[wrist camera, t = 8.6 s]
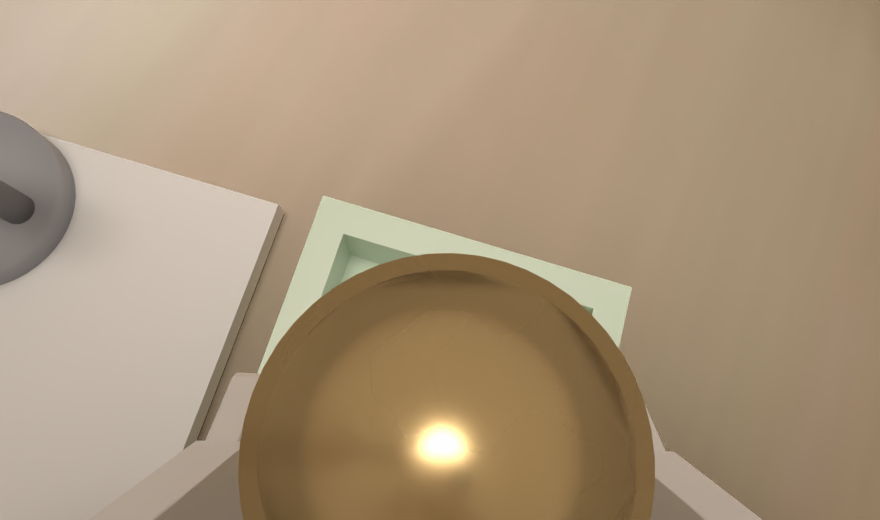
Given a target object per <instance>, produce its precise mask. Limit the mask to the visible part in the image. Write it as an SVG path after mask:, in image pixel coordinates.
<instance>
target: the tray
mask: <svg viewBox="0 0 880 520" xmlns="http://www.w3.org/2000/svg"><path fill="white" fill-rule="evenodd" d="M435 253H459V254H469V255H479V256H483V257H487V258H492V259H496V260H501V261H504V262H507V263H510V264H512V265H515V266H518V267H521V268H523V269H526V270H528V271H530V272H532V273H534V274H536V275H538V276H540V277H542V278H544V279H546V280H548V281H549V282H551V283H552V284H554V285H555V286H557V287H558V288H560V289H561V290H563V291H564V292H566V293H567V294H569V295H570V296H571V297H572V298H574V299H575V300H576V301H577V302H578V303H579V304H580V305H582V306H583V307H584V308H585V309H586V310H587V311H588V312H590V314H591V315H592V316H593V317H594V318H595V319H596V320H597V321H598V323H599V324H600V325H601V326H602V327H603V328H604V329H605V330H606V331H607V333H608V334H609V336H610V337H611V338H612V340H613V341H614V343H615V344H616V346H617V347H618V349H619V345H620V340H621V335H622V331H623V326H624V322H625V317H626V312H627V308H628V303H629V299H630V294H631V289H632V287H629V286H626V285H622V284H619V283H616V282H612V281H609V280H606V279H602V278H599V277H596V276H592V275H589V274H586V273H582V272H579V271H575V270H572V269H569V268H565V267H562V266H559V265H555V264H552V263H549V262H545V261H542V260H539V259H535V258H532V257H528V256H525V255H522V254H518V253H515V252H512V251H508V250H505V249H502V248H498V247H495V246H491V245H488V244H485V243H481V242H478V241H475V240H471V239H468V238H465V237H461V236H458V235H455V234H451V233H448V232H444V231H441V230H438V229H434V228H431V227H428V226H424V225H421V224H418V223H414V222H411V221H407V220H404V219H401V218H397V217H394V216H391V215H387V214H384V213H381V212H377V211H374V210H371V209H367V208H364V207H360V206H357V205H354V204H350V203H347V202H344V201H340V200H337V199H334V198H330V197H327V196H323V197H322V200H321V203H320V205H319V208H318V211H317V213H316V216H315V219H314V222H313V224H312V227H311V230H310V232H309V235H308V238H307V240H306V243H305V246H304V249H303V251H302V254H301V257H300V259H299V262H298V265H297V267H296V270H295V273H294V276H293V278H292V281H291V284H290V286H289V289H288V292H287V295H286V297H285V300H284V303H283V305H282V308H281V311H280V313H279V316H278V319H277V322H276V324H275V327H274V330H273V332H272V335H271V338H270V340H269V343H268V346H267V349H266V351H265V354H264V357H263V359H262V362H261V365H260V367H259V370H258V373H257V374H261V372H262V369H263V367H264V366H265V364H266V362H267V361H268V359H269V357H270V355H271V354H272V352H273V350H274V349H275V347H276V345H277V344H278V343H279V341H280V340H281V339H282V337H283V336H284V335H285V334H286V332H287V331H288V330H289V328H290V327H291V326H292V325H293V323H294V322H295V321H296V320H297V319H298V318H299V317H300V316H301V315H302V314H303V313H304V312H305V311H306V310H307V309H308V308H309V307H310V306H311V305H312V304H313V303H315V302H316V301H317V300H318V299H320V298H321V297H322V296H324V295H325V294H326V293H328V292H329V291H330V290H331V289H333V288H334V287H336V286H338V285H339V284H341V283H343V282H344V281H346V280H348V279H349V278H351V277H353V276H354V275H356V274H359V273H361V272H363V271H366V270H368V269H370V268H372V267H375V266H377V265H380V264H383V263H386V262H390V261H393V260H397V259H400V258H404V257H410V256H417V255H423V254H435Z"/></svg>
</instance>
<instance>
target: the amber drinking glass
mask: <svg viewBox="0 0 880 520" xmlns="http://www.w3.org/2000/svg"><path fill="white" fill-rule="evenodd" d="M238 482H239V493H240V505H241V511H242V515H243V520H650V519H651V514H652V506H653V498H654V490H655V455H654V447H653V439H652V431H651V426H650V423H649V419H648V415H647V411H646V407H645V403H644V400H643V398H642V395H641V392H640V390H639V387H638V385H637V382H636V379H635V377H634V375H633V373H632V371H631V369H630V368H629V366H628V364H627V362H626V360H625V358H624V356H623V354H622V353H621V351H620V350H619V349H618V347H617V346H616V344H615V343H614V341H613V340H612V338H611V337H610V336H609V334H608V333H607V331H606V330H605V329H604V328H603V327H602V326H601V325H600V324H599V323H598V321H597V320H596V319H595V318H594V317H593V316H592V315H591V314H590V312H588V311H587V310H586V309H585V308H584V307H583V306H582V305H580V304H579V303H578V302H577V301H576V300H575V299H574V298H572V297H571V296H570V295H569V294H567V293H566V292H564V291H563V290H561V289H560V288H558V287H557V286H555V285H554V284H552V283H551V282H549V281H548V280H546V279H544V278H542V277H540V276H538V275H536V274H534V273H532V272H530V271H528V270H526V269H523V268H521V267H518V266H515V265H512V264H510V263H507V262H504V261H501V260H496V259H492V258H487V257H483V256H479V255H469V254H459V253H435V254H423V255H417V256H410V257H404V258H400V259H397V260H393V261H390V262H386V263H383V264H380V265H377V266H375V267H372V268H370V269H368V270H366V271H363V272H361V273H359V274H356V275H354V276H353V277H351V278H349V279H348V280H346V281H344V282H343V283H341V284H339V285H338V286H336V287H334V288H333V289H331V290H330V291H329V292H328V293H326V294H325V295H324V296H322V297H321V298H320V299H318V300H317V301H316V302H315V303H313V304H312V305H311V306H310V307H309V308H308V309H307V310H306V311H305V312H304V313H303V314H302V315H301V316H300V317H299V318H298V319H297V320H296V321H295V322H294V323H293V325H292V326H291V327H290V328H289V330H288V331H287V332H286V334H285V335H284V336H283V337H282V339H281V340H280V341H279V343H278V344H277V345H276V347H275V349H274V350H273V352H272V354H271V355H270V357H269V359H268V361H267V362H266V364H265V366H264V367H263V369H262V372H261V374H260V376H259V378H258V381H257V383H256V385H255V388H254V390H253V392H252V395H251V398H250V402H249V405H248V408H247V412H246V415H245V419H244V423H243V429H242V435H241V441H240V447H239V468H238Z"/></svg>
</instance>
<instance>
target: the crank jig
mask: <svg viewBox="0 0 880 520" xmlns="http://www.w3.org/2000/svg"><path fill="white" fill-rule="evenodd" d="M283 215H284V213H283V211H282V210H281V208H280V206H279V205H278V204H275V203H272V202H268V201H265V200H262V199H258V198H255V197H252V196H248V195H245V194H242V193H238V192H235V191H231V190H228V189H225V188H221V187H218V186H215V185H211V184H208V183H205V182H201V181H198V180H195V179H191V178H188V177H185V176H181V175H178V174H175V173H171V172H168V171H164V170H161V169H158V168H154V167H151V166H148V165H144V164H141V163H138V162H134V161H131V160H128V159H124V158H121V157H118V156H114V155H111V154H108V153H104V152H101V151H98V150H94V149H91V148H87V147H84V146H81V145H77V144H74V143H71V142H67V141H64V140H61V139H57V138H54V137H51V136H47V135H44V134H41V133H39V132H37V131H36V130H35V129H33V128H32V127H31V126H29V125H28V124H27V123H25V122H24V121H22V120H20V119H18V118H16V117H14V116H12V115H9V114H6V113H4V112H0V520H88V519H90V518H91V517H93V516H94V515H95V514H97V513H98V512H99V511H101V510H102V509H103V508H105V507H106V506H108V505H109V504H110V503H112V502H113V501H114V500H116V499H117V498H119V497H120V496H121V495H123V494H124V493H125V492H127V491H128V490H129V489H131V488H132V487H134V486H135V485H136V484H138V483H139V482H140V481H142V480H143V479H145V478H146V477H147V476H149V475H150V474H151V473H153V472H154V471H155V470H157V469H158V468H160V467H161V466H162V465H164V464H165V463H166V462H168V461H169V460H171V459H172V458H173V457H175V456H176V455H177V454H179V453H180V452H182V451H183V450H184V449H186V448H187V447H188V446H190V445H191V444H192V443H194V442H195V441H197V438H198V436H199V433H200V430H201V428H202V425H203V423H204V420H205V417H206V415H207V412H208V410H209V407H210V404H211V402H212V399H213V397H214V394H215V391H216V389H217V386H218V384H219V381H220V379H221V376H222V373H223V371H224V368H225V366H226V363H227V360H228V358H229V355H230V353H231V350H232V347H233V345H234V342H235V340H236V337H237V334H238V332H239V329H240V327H241V324H242V321H243V319H244V316H245V314H246V311H247V308H248V306H249V303H250V301H251V298H252V295H253V293H254V290H255V288H256V285H257V282H258V280H259V277H260V275H261V272H262V269H263V267H264V264H265V262H266V259H267V256H268V254H269V251H270V249H271V246H272V243H273V241H274V238H275V236H276V233H277V230H278V228H279V225H280V223H281V220H282V217H283Z"/></svg>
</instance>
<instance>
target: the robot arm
mask: <svg viewBox="0 0 880 520" xmlns="http://www.w3.org/2000/svg"><path fill="white" fill-rule="evenodd" d="M259 376H260V374H257V373H236V374H235V375H234V376H233V377H232V378H231V380H230V383H229V385H228V387H227V390H226V392H225V395H224V397H223V399H222V402H221V404H220V406H219V409H218V411H217V414H216V416H215V418H214V421H213V423H212V426H211V428H210V430H209V433H208V435H207V437H206V440H205V441H195V442H194V443H192V444H191V445H190V446H188V447H187V448H186V449H184V450H183V451H182V452H180V453H179V454H177V455H176V456H175V457H173V458H172V459H171V460H169V461H168V462H166V463H165V464H164V465H162V466H161V467H160V468H158V469H157V470H155V471H154V472H153V473H151V474H150V475H149V476H147V477H146V478H145V479H143V480H142V481H140V482H139V483H138V484H136V485H135V486H134V487H132V488H131V489H129V490H128V491H127V492H125V493H124V494H123V495H121V496H120V497H119V498H117V499H116V500H114V501H113V502H112V503H110V504H109V505H108V506H106V507H105V508H103V509H102V510H101V511H99V512H98V513H97V514H95V515H94V516H93V517H91V518H90V519H88V520H243V515H242V511H241V505H240V493H239V482H238V468H239V447H240V441H241V435H242V429H243V423H244V419H245V415H246V412H247V408H248V405H249V402H250V398H251V395H252V392H253V390H254V388H255V385H256V383H257V381H258V378H259ZM644 403H645V402H644ZM645 407H646V405H645ZM646 411H647V415H648V419H649V423H650V426H651V431H652V439H653V447H654V455H655V490H654V498H653V506H652V514H651V519H650V520H762V519H761V518H759V517H758V516H757V515H755V514H754V513H753V512H752V511H750V510H749V509H748V508H746V507H745V506H744V505H743V504H741V503H740V502H739V501H737V500H736V499H735V498H734V497H732V496H731V495H730V494H728V493H727V492H726V491H724V490H723V489H722V488H721V487H719V486H718V485H717V484H715V483H714V482H713V481H712V480H710V479H709V478H708V477H706V476H705V475H704V474H702V473H701V472H700V471H699V470H697V469H696V468H695V467H693V466H692V465H691V464H690V463H688V462H687V461H686V460H684V459H683V458H682V457H681V456H679V455H678V454H677V453H675V452H667V451H666V450H665V448H664V446H663V443H662V441H661V439H660V437H659V434H658V432H657V430H656V427H655V425H654V423H653V421H652V418H651V416H650V414H649V411H648V409H647V407H646Z"/></svg>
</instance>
